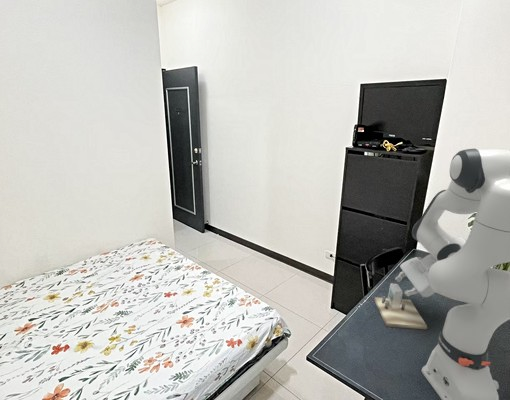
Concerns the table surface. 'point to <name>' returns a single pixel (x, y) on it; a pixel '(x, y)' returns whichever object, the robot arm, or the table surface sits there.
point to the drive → (394, 296)
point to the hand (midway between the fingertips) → (400, 287)
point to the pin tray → (400, 314)
